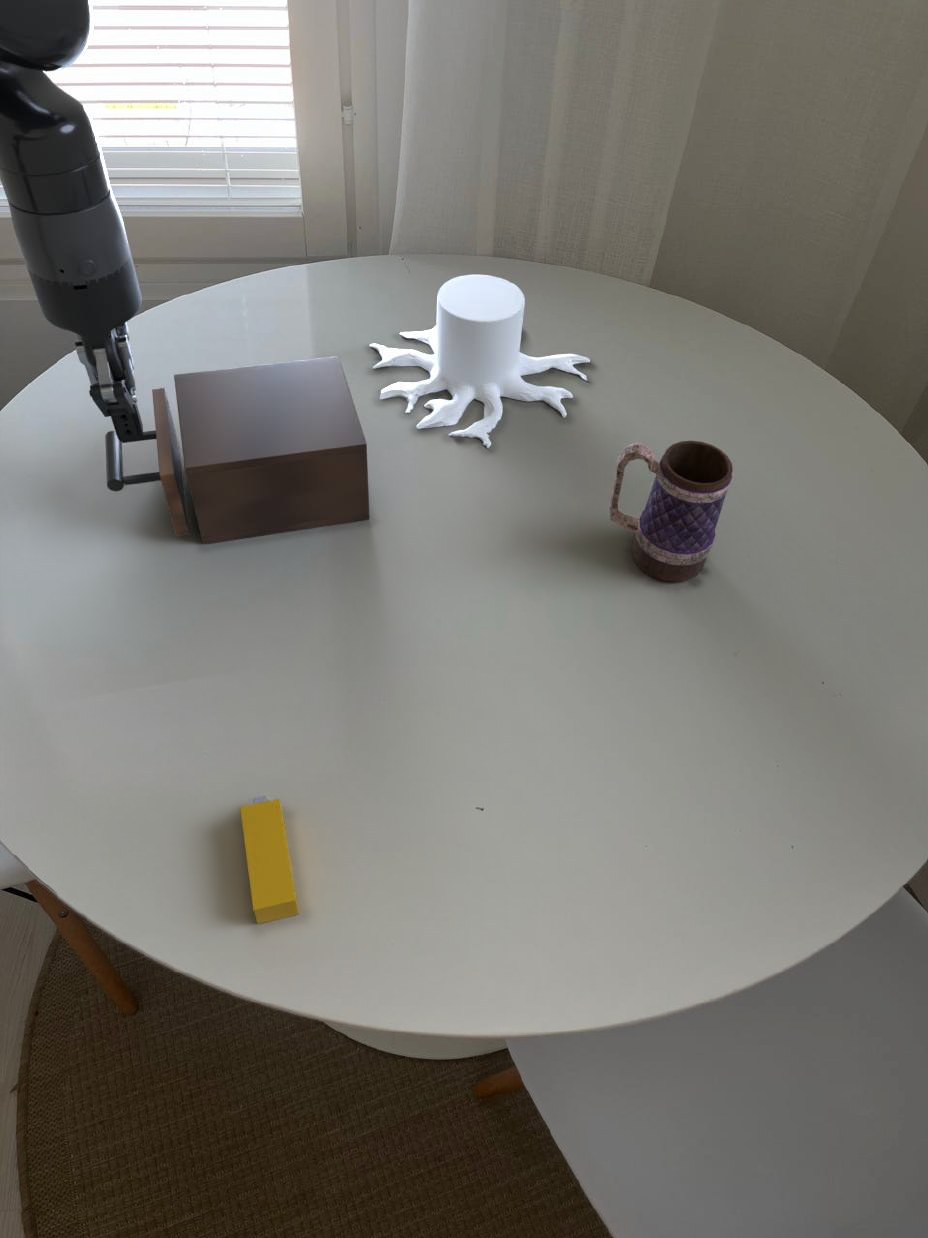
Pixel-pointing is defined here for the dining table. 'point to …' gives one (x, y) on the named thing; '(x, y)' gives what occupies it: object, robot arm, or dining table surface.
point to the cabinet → (272, 448)
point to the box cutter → (268, 860)
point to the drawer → (167, 459)
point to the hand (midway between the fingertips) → (131, 435)
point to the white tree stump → (475, 356)
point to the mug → (675, 507)
